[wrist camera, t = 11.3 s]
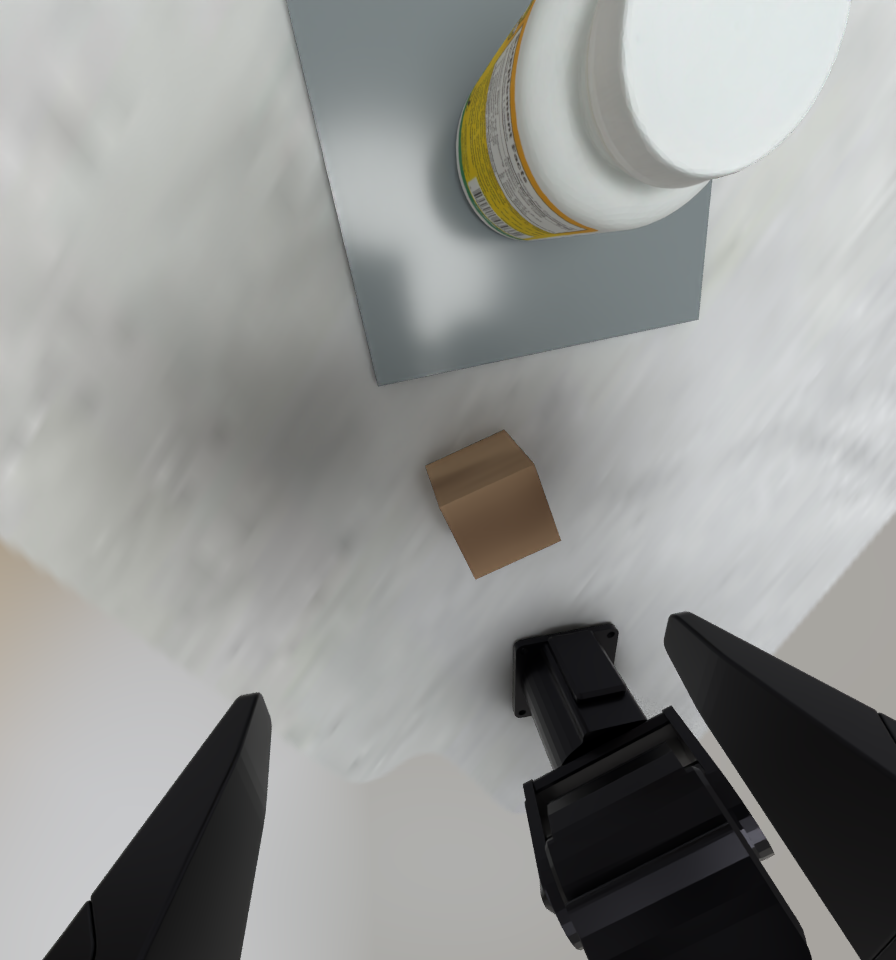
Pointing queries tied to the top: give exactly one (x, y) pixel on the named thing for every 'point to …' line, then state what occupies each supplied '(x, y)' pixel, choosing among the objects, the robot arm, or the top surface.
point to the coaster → (462, 202)
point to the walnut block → (493, 503)
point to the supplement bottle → (635, 106)
